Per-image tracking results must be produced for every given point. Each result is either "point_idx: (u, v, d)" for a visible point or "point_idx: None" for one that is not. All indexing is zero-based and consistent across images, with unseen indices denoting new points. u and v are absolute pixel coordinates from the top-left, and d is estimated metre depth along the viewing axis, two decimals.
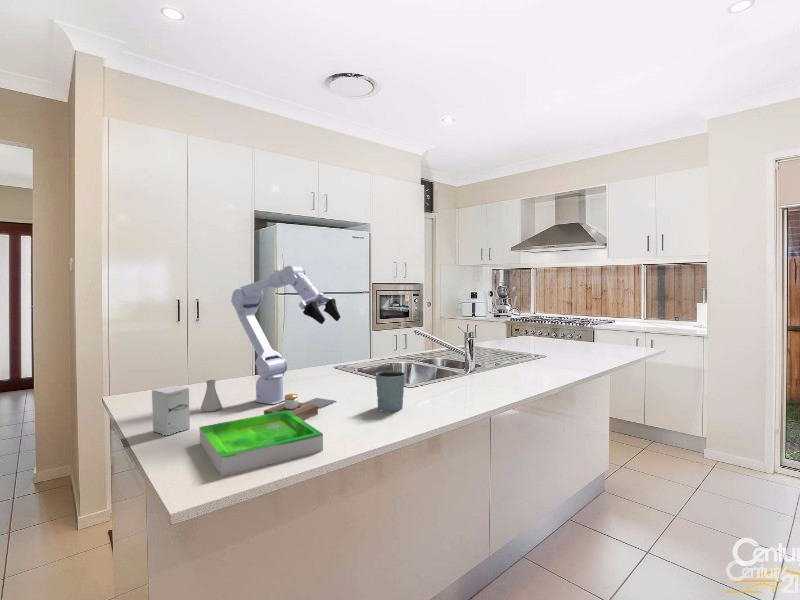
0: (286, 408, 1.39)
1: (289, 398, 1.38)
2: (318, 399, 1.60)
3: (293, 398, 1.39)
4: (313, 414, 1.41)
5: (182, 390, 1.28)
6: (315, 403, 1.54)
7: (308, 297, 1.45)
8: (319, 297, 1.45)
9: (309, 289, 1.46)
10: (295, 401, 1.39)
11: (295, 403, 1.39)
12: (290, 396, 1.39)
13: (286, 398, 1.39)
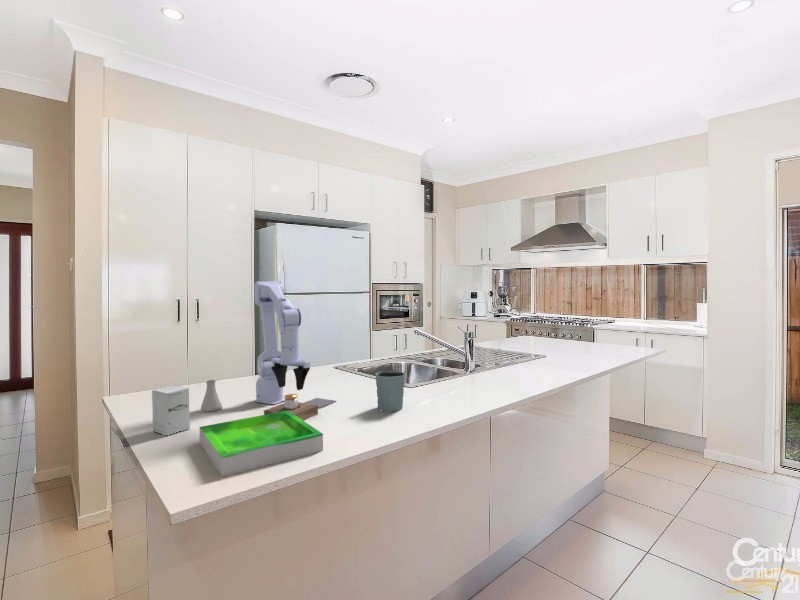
0: (286, 408, 1.39)
1: (289, 398, 1.38)
2: (318, 399, 1.60)
3: (293, 398, 1.39)
4: (313, 414, 1.41)
5: (182, 390, 1.28)
6: (315, 403, 1.54)
7: None
8: None
9: (281, 349, 1.38)
10: (295, 401, 1.39)
11: (295, 403, 1.39)
12: (290, 396, 1.39)
13: (286, 398, 1.39)
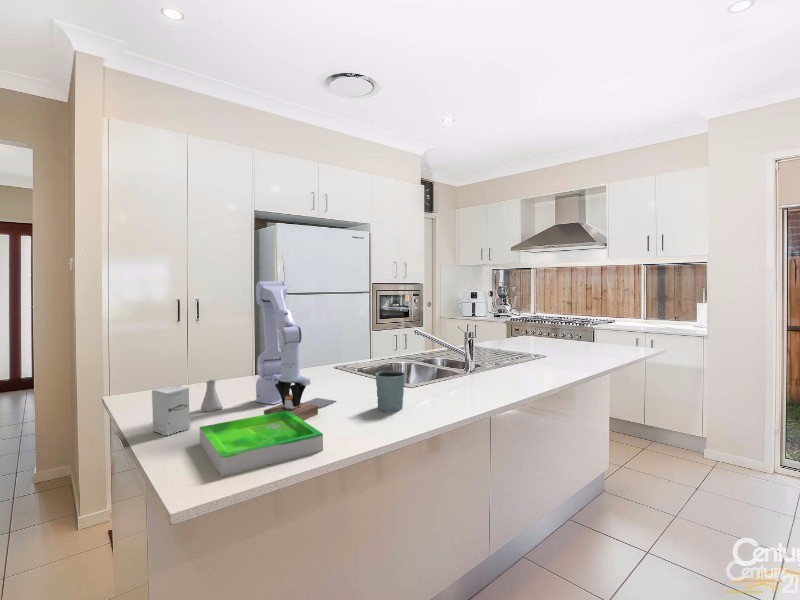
0: (286, 408, 1.39)
1: (289, 398, 1.38)
2: (318, 399, 1.60)
3: None
4: (313, 414, 1.41)
5: (182, 390, 1.28)
6: (315, 403, 1.54)
7: None
8: None
9: (281, 366, 1.39)
10: None
11: None
12: (290, 396, 1.39)
13: (286, 398, 1.39)
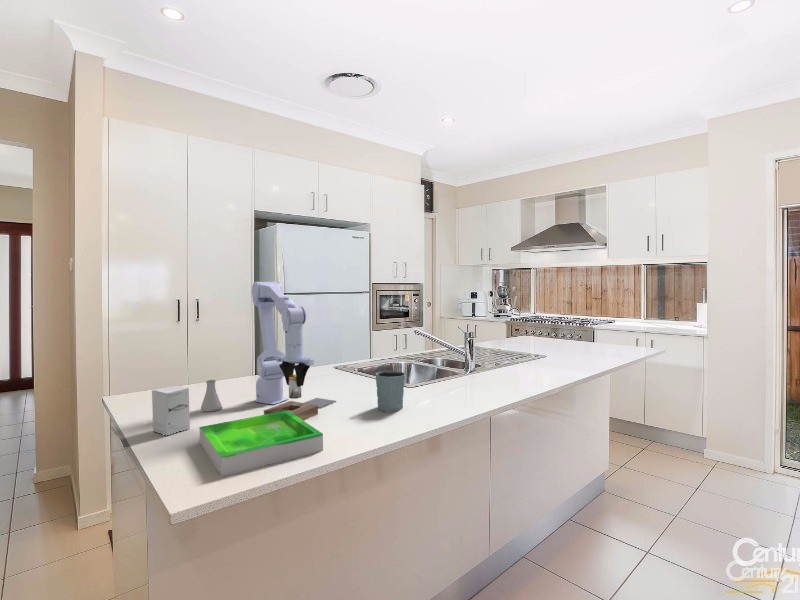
0: (290, 388, 1.41)
1: (293, 378, 1.40)
2: (318, 399, 1.60)
3: None
4: (313, 414, 1.41)
5: (182, 390, 1.28)
6: (315, 403, 1.54)
7: None
8: None
9: (285, 347, 1.41)
10: None
11: None
12: (294, 376, 1.41)
13: (290, 378, 1.41)
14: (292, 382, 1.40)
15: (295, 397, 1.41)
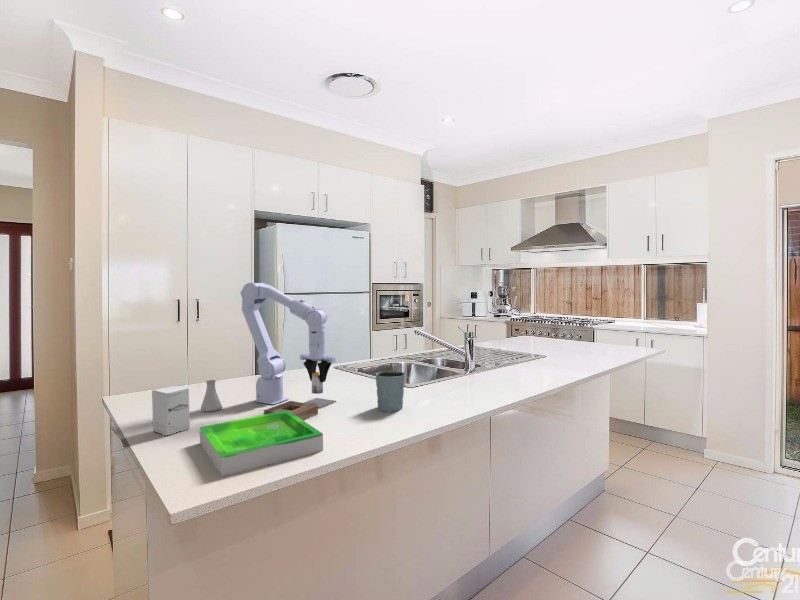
0: (313, 384, 1.53)
1: (316, 374, 1.53)
2: (318, 399, 1.60)
3: None
4: (313, 414, 1.41)
5: (182, 390, 1.28)
6: (315, 403, 1.54)
7: None
8: None
9: (309, 346, 1.53)
10: None
11: None
12: (317, 373, 1.54)
13: (313, 374, 1.53)
14: (315, 378, 1.53)
15: (318, 392, 1.53)
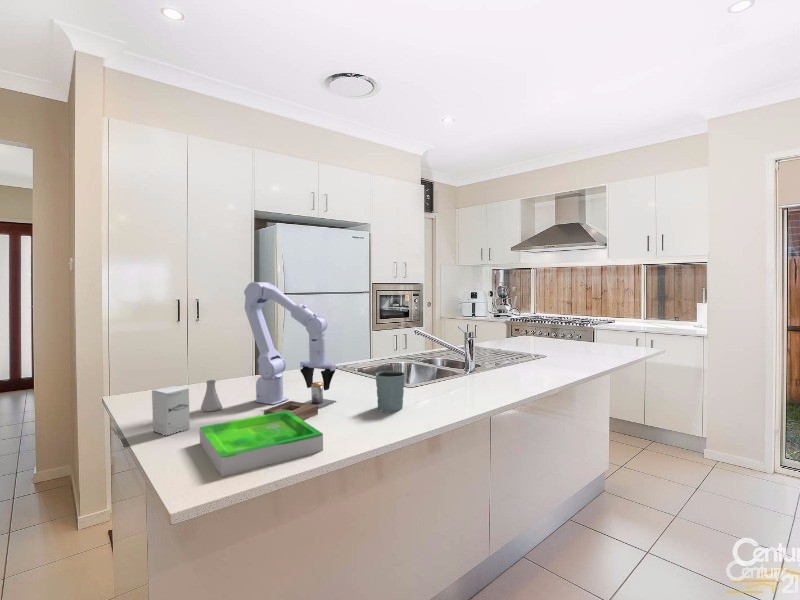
0: (313, 394, 1.53)
1: (315, 385, 1.53)
2: None
3: (319, 385, 1.53)
4: (313, 414, 1.41)
5: (182, 390, 1.28)
6: None
7: None
8: None
9: (309, 353, 1.54)
10: (321, 388, 1.54)
11: (321, 390, 1.54)
12: (316, 384, 1.54)
13: (313, 385, 1.53)
14: (315, 389, 1.53)
15: (318, 403, 1.53)
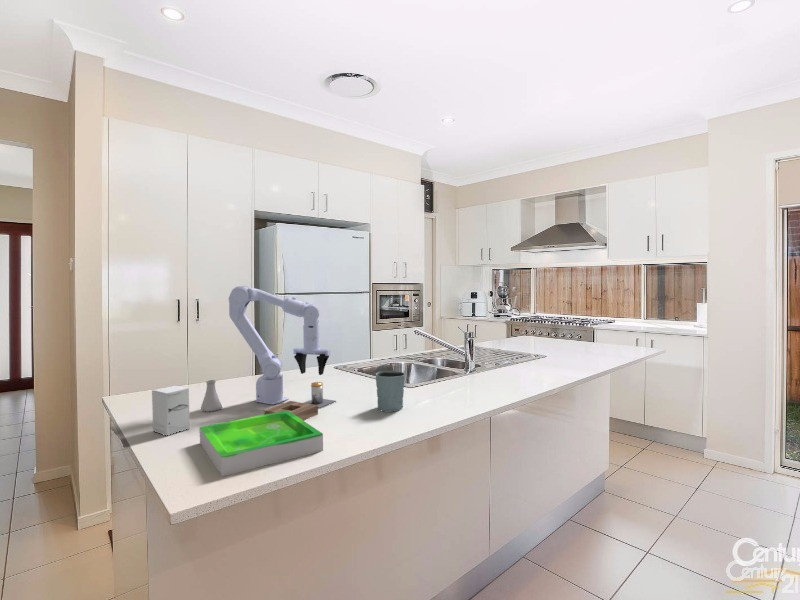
0: (313, 394, 1.53)
1: (315, 385, 1.53)
2: None
3: (319, 385, 1.53)
4: (313, 414, 1.41)
5: (182, 390, 1.28)
6: None
7: None
8: None
9: (304, 340, 1.59)
10: (321, 388, 1.54)
11: (321, 390, 1.54)
12: (316, 384, 1.54)
13: (313, 385, 1.53)
14: (315, 389, 1.53)
15: (318, 403, 1.53)
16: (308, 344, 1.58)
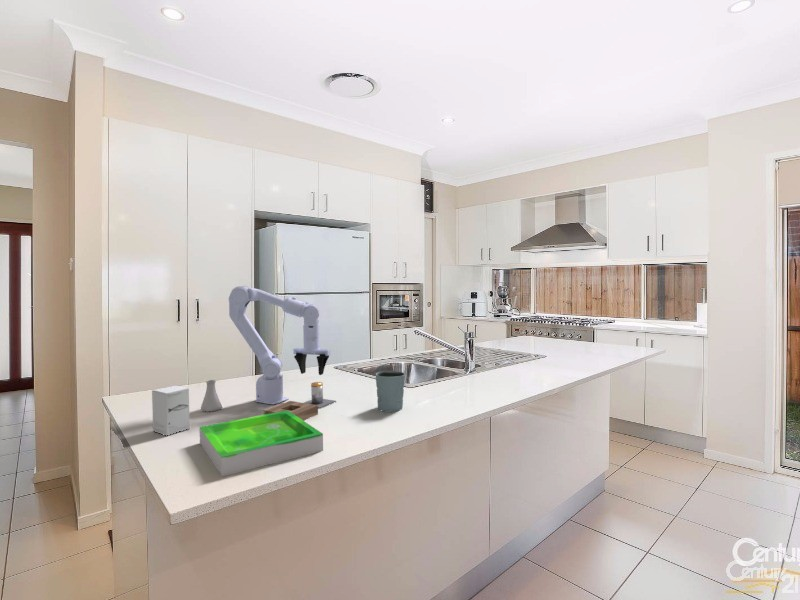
0: (313, 394, 1.53)
1: (315, 385, 1.53)
2: None
3: (319, 385, 1.53)
4: (313, 414, 1.41)
5: (182, 390, 1.28)
6: None
7: None
8: None
9: (304, 340, 1.59)
10: (321, 388, 1.54)
11: (321, 390, 1.54)
12: (316, 384, 1.54)
13: (313, 385, 1.53)
14: (315, 389, 1.53)
15: (318, 403, 1.53)
16: (308, 344, 1.58)
